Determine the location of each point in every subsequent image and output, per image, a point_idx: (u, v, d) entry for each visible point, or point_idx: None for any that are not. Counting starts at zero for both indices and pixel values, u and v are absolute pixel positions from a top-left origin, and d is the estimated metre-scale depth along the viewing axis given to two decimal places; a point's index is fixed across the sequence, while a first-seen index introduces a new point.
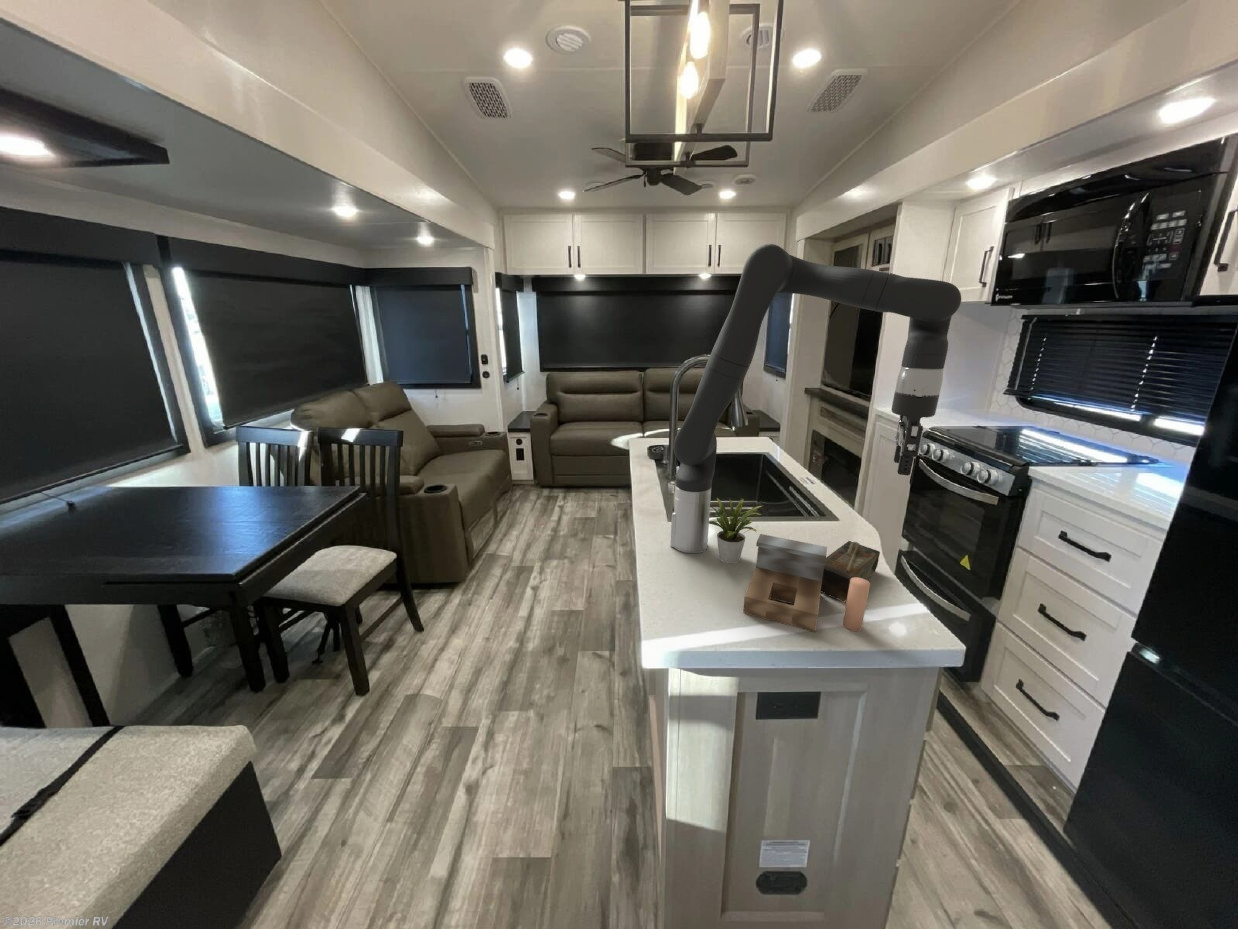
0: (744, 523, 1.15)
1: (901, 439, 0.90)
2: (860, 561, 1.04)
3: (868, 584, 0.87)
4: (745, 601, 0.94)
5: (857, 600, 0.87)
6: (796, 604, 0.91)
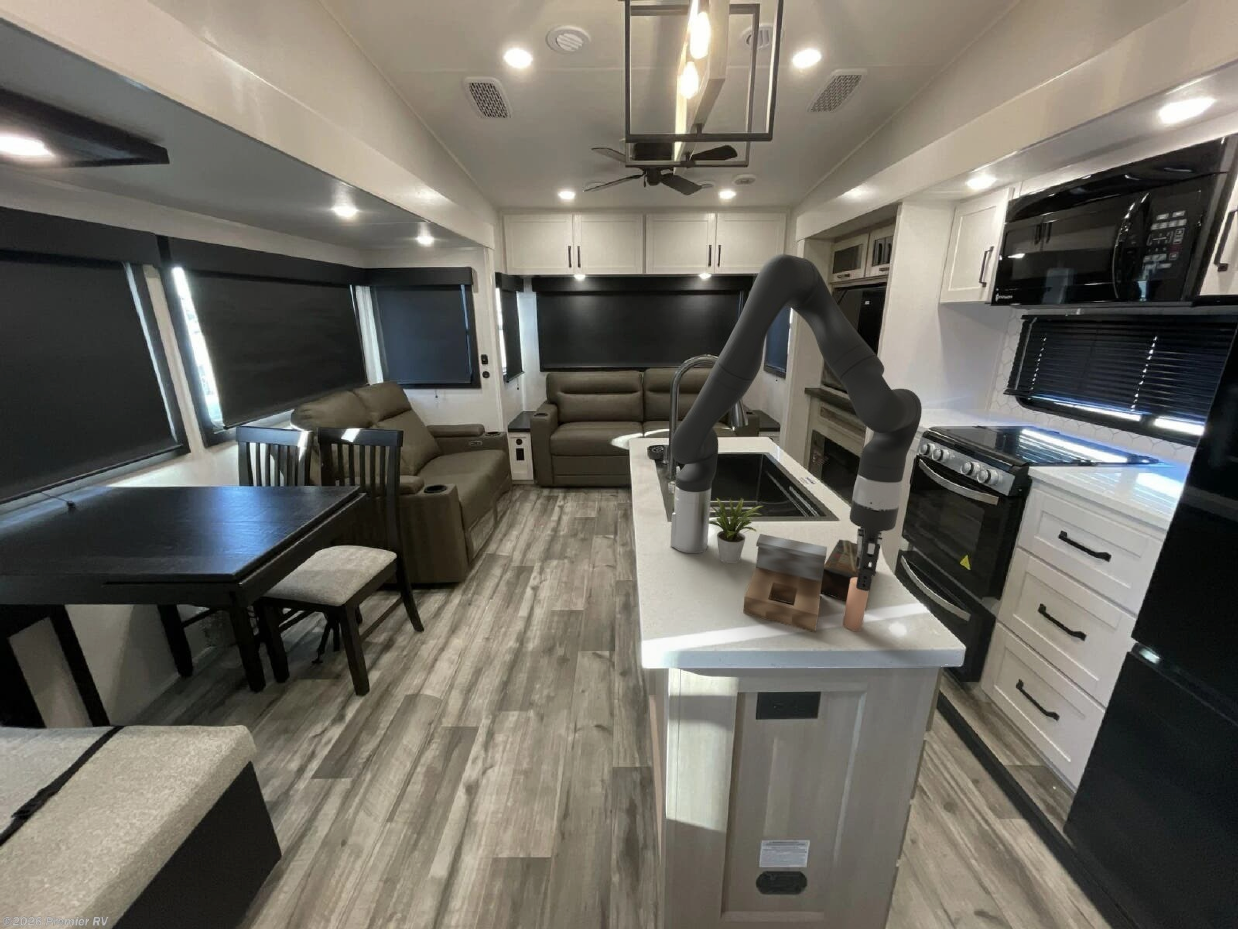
0: (744, 523, 1.15)
1: (859, 552, 0.83)
2: None
3: None
4: (745, 601, 0.94)
5: (857, 600, 0.87)
6: (796, 604, 0.91)
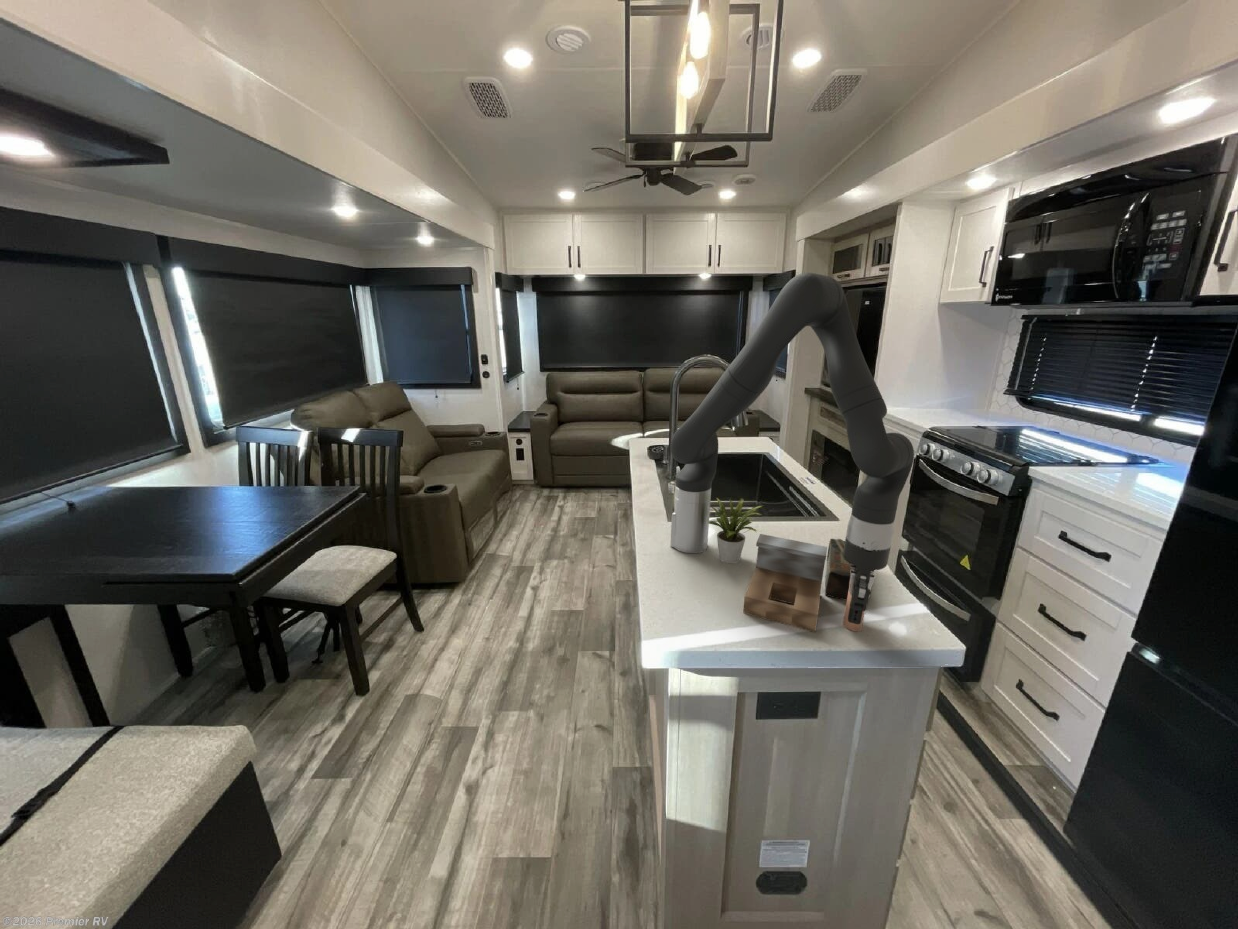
0: (744, 523, 1.15)
1: (851, 590, 0.86)
2: None
3: None
4: (745, 601, 0.94)
5: None
6: (796, 604, 0.91)
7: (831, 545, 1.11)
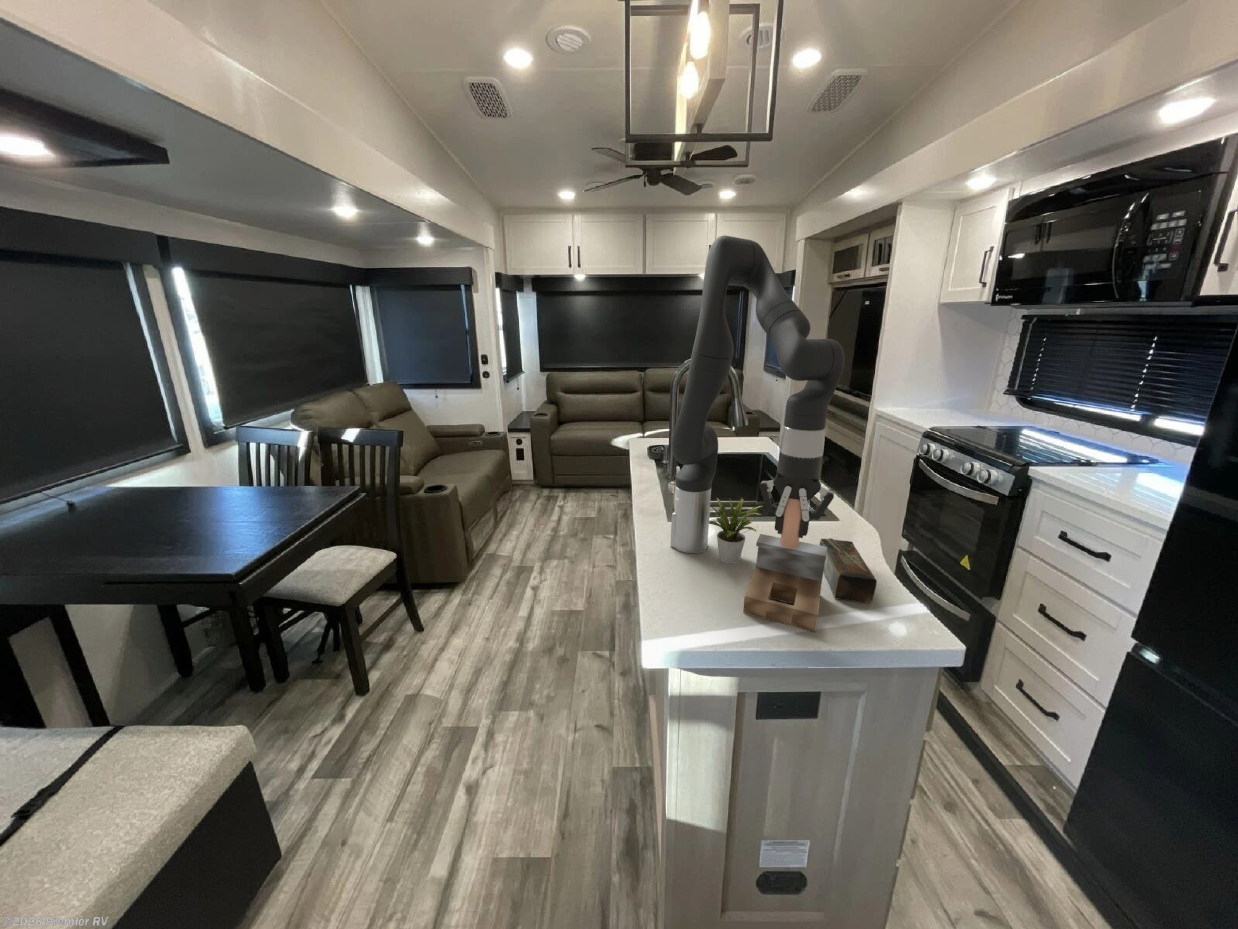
0: (744, 523, 1.15)
1: None
2: (856, 557, 1.05)
3: (793, 499, 0.86)
4: (745, 601, 0.94)
5: (784, 510, 0.88)
6: (796, 604, 0.91)
7: (825, 546, 1.11)
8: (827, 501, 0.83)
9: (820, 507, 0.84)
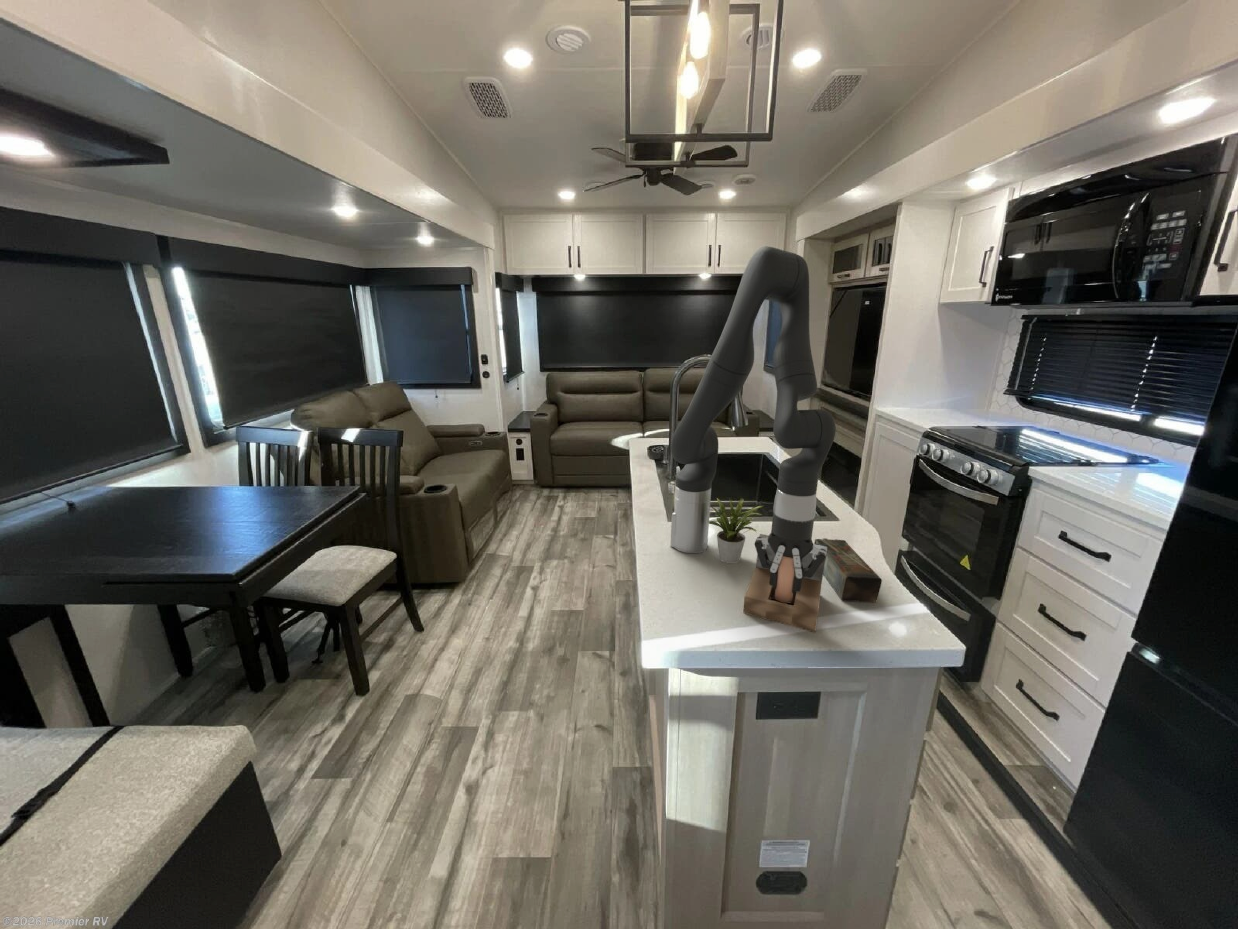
0: (744, 523, 1.15)
1: None
2: (855, 556, 1.06)
3: (786, 557, 0.89)
4: (745, 601, 0.94)
5: (778, 566, 0.92)
6: (796, 604, 0.91)
7: None
8: (819, 561, 0.87)
9: (812, 566, 0.88)
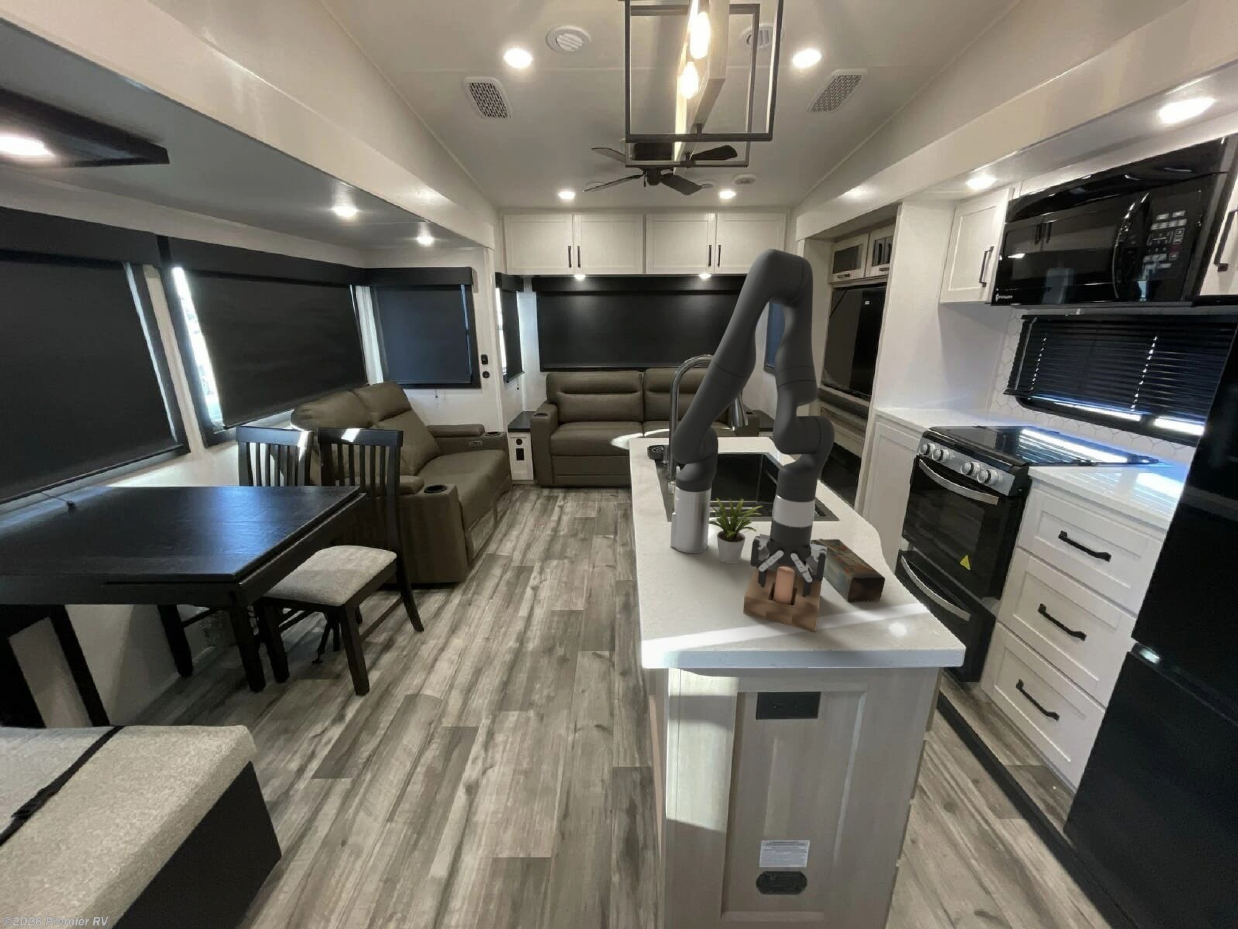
0: (744, 523, 1.15)
1: (770, 553, 0.94)
2: (853, 555, 1.06)
3: (783, 573, 0.90)
4: (745, 601, 0.94)
5: None
6: (796, 604, 0.91)
7: None
8: (822, 561, 0.87)
9: (818, 569, 0.87)
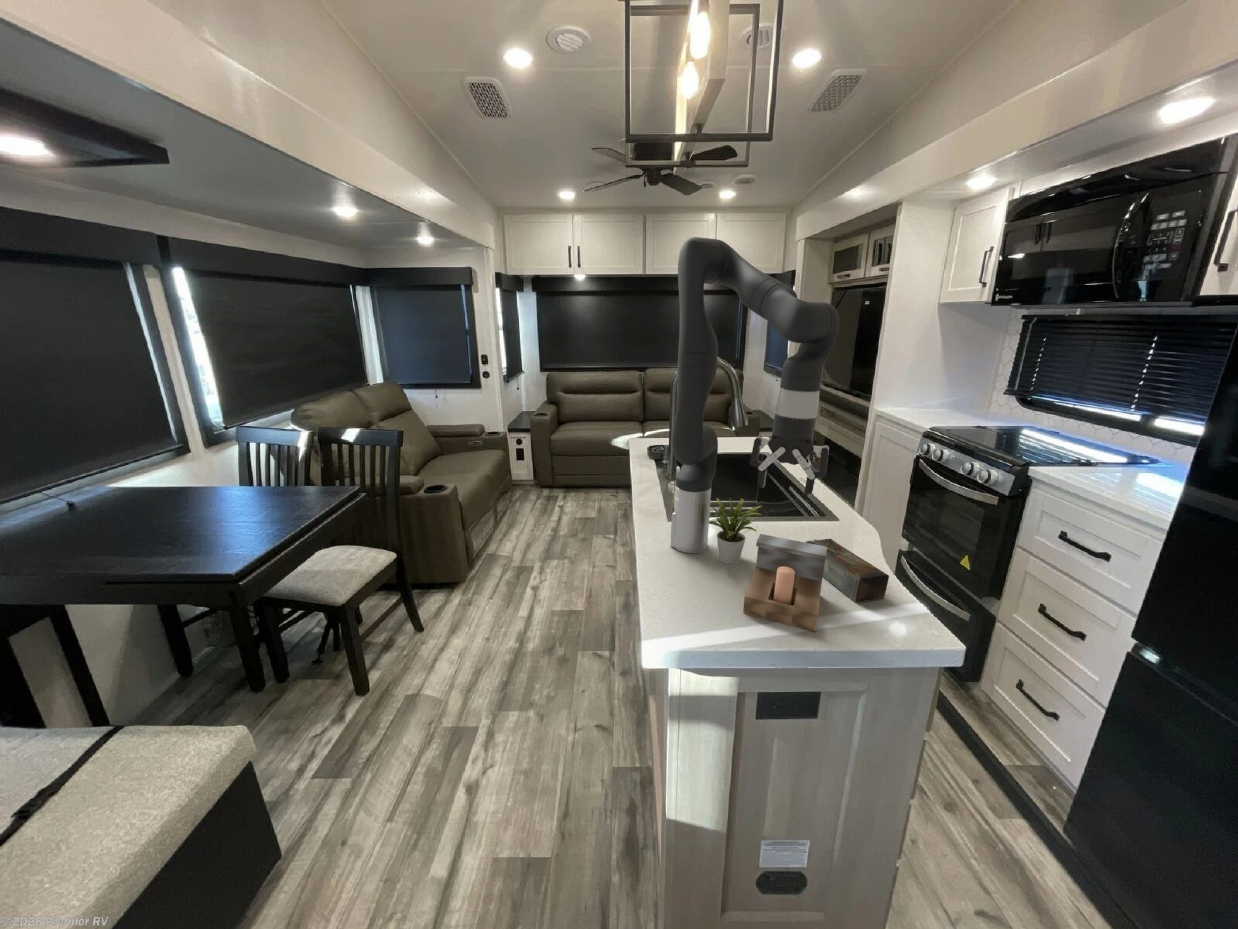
0: (744, 523, 1.15)
1: (771, 453, 0.92)
2: (851, 555, 1.07)
3: (783, 573, 0.90)
4: (745, 601, 0.94)
5: None
6: (796, 604, 0.91)
7: None
8: (824, 456, 0.85)
9: (821, 464, 0.86)
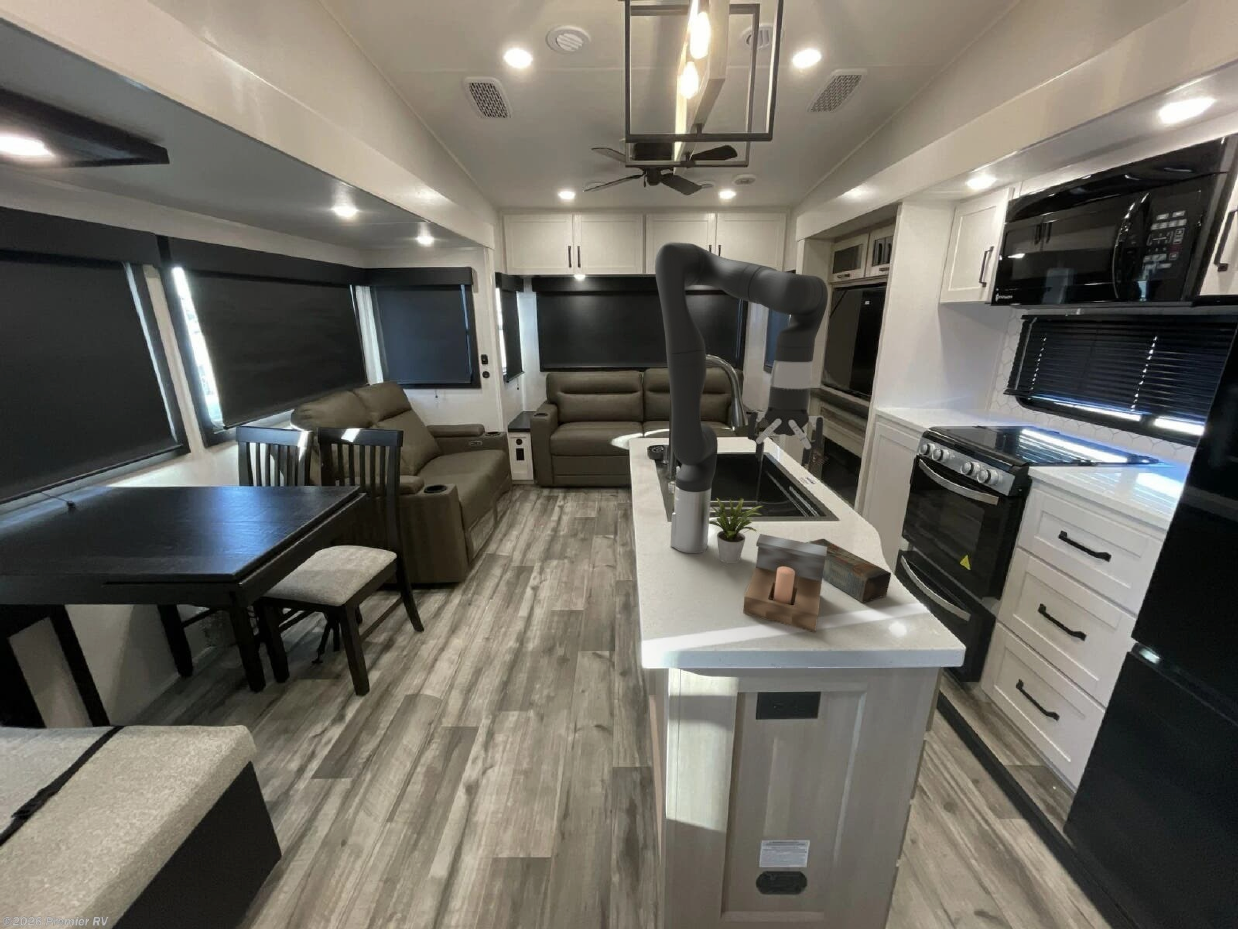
0: (744, 523, 1.15)
1: (768, 427, 0.95)
2: (849, 554, 1.07)
3: (783, 573, 0.90)
4: (745, 601, 0.94)
5: None
6: (796, 604, 0.91)
7: None
8: (819, 425, 0.88)
9: (816, 433, 0.88)
